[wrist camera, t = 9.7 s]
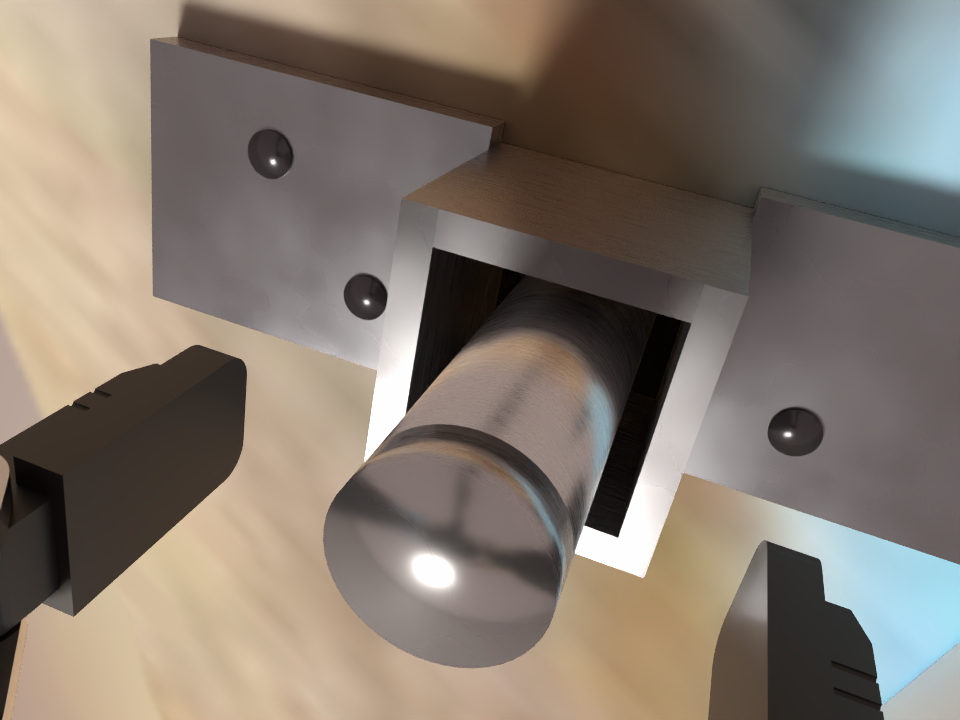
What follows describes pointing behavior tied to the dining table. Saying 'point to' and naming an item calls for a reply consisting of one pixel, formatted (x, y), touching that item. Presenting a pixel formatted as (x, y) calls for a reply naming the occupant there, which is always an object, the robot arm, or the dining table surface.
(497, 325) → the pin
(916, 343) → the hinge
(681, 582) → the dining table surface
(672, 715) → the dining table surface
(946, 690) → the holder
